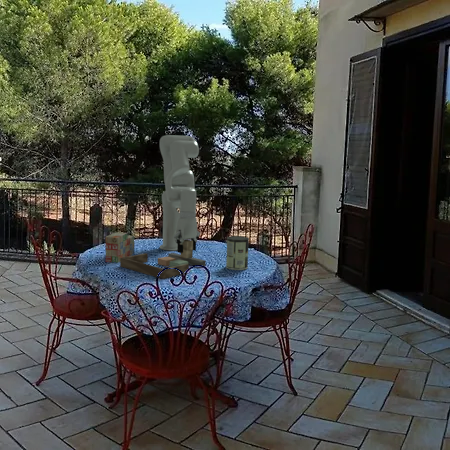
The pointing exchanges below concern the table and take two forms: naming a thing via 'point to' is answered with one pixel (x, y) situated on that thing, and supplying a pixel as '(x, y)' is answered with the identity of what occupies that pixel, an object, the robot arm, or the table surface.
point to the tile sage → (177, 262)
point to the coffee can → (237, 252)
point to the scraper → (187, 254)
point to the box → (149, 266)
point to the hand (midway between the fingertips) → (186, 251)
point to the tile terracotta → (165, 261)
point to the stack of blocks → (119, 246)
